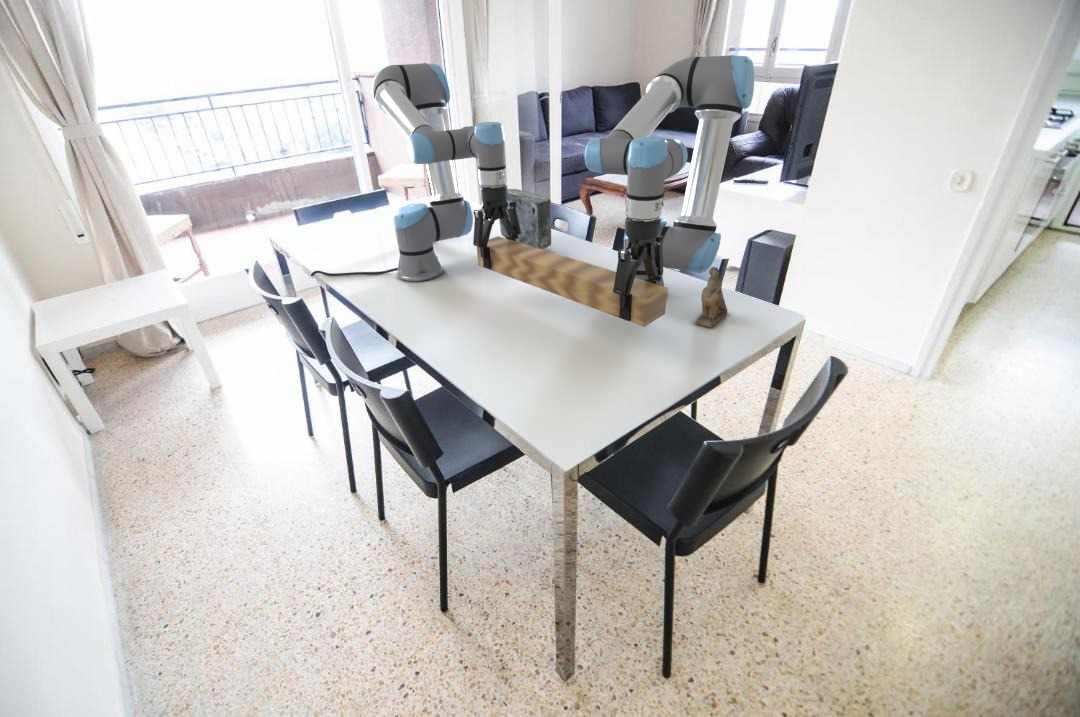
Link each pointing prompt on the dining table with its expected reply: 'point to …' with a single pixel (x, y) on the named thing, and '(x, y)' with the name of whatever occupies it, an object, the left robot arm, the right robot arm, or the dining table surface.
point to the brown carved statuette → (712, 301)
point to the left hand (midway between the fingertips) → (499, 263)
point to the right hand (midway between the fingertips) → (636, 312)
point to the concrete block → (531, 218)
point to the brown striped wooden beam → (574, 279)
